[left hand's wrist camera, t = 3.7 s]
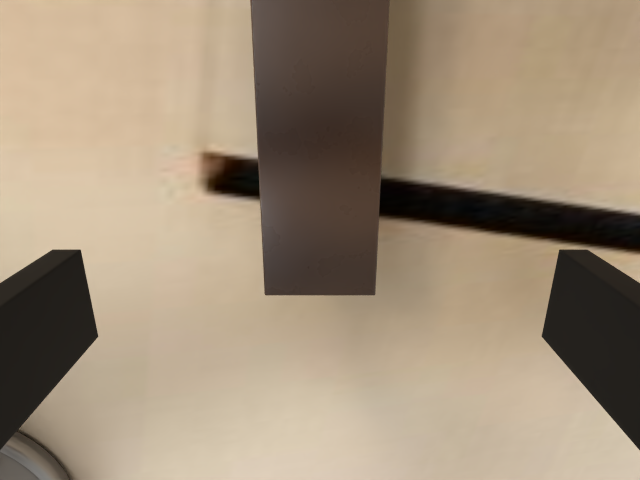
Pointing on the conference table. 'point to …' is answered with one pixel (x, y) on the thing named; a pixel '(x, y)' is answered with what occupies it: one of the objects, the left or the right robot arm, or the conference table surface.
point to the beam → (320, 141)
